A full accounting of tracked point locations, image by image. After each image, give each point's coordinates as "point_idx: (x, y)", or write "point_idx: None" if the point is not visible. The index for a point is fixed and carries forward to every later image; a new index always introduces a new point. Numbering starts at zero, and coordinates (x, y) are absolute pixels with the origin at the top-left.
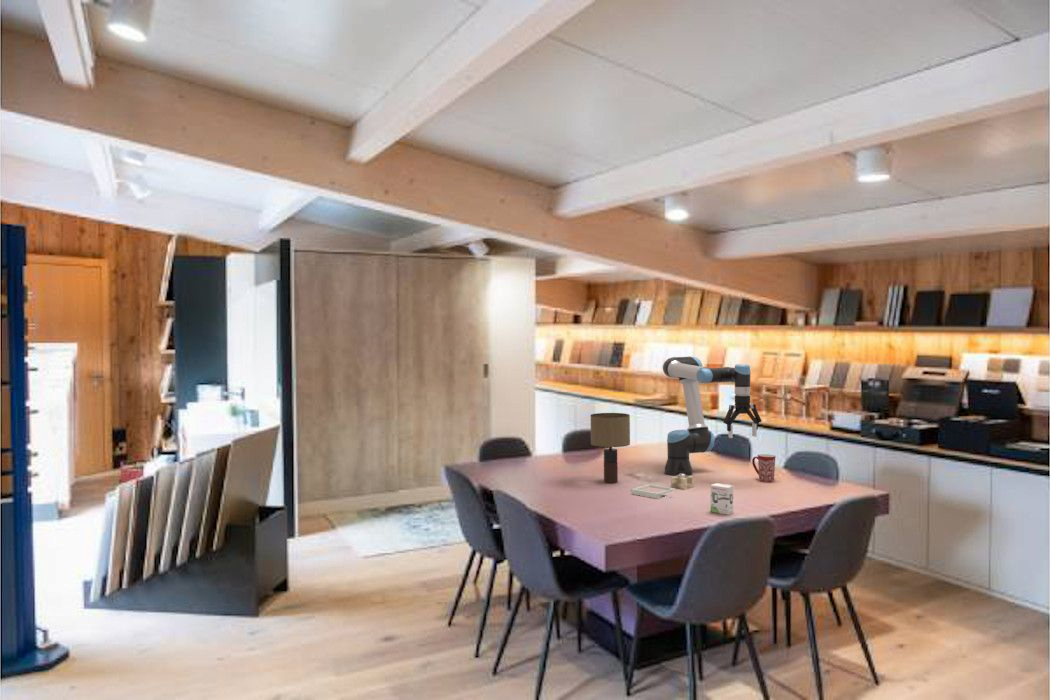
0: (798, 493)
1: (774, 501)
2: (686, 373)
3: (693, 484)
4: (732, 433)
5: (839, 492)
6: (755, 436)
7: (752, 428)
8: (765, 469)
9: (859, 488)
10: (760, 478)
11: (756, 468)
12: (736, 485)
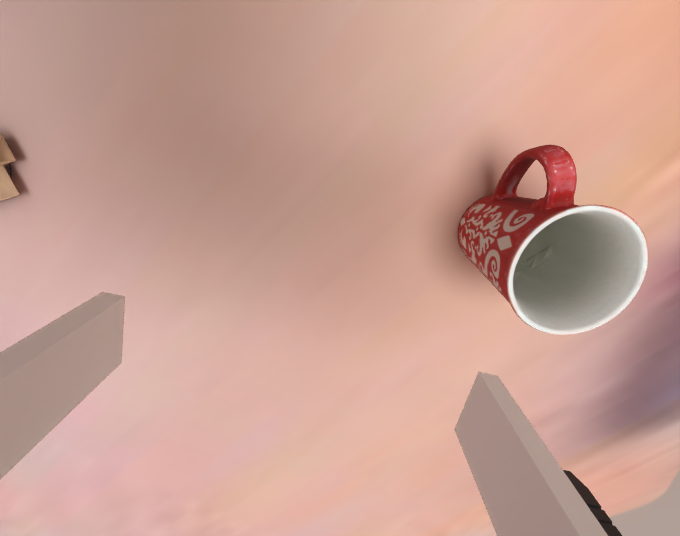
0: (388, 452)
1: (218, 484)
2: None
3: (3, 197)
4: (75, 403)
5: None
6: (459, 431)
7: (528, 463)
8: (483, 273)
9: (639, 502)
10: (463, 227)
11: (517, 174)
12: (286, 228)
